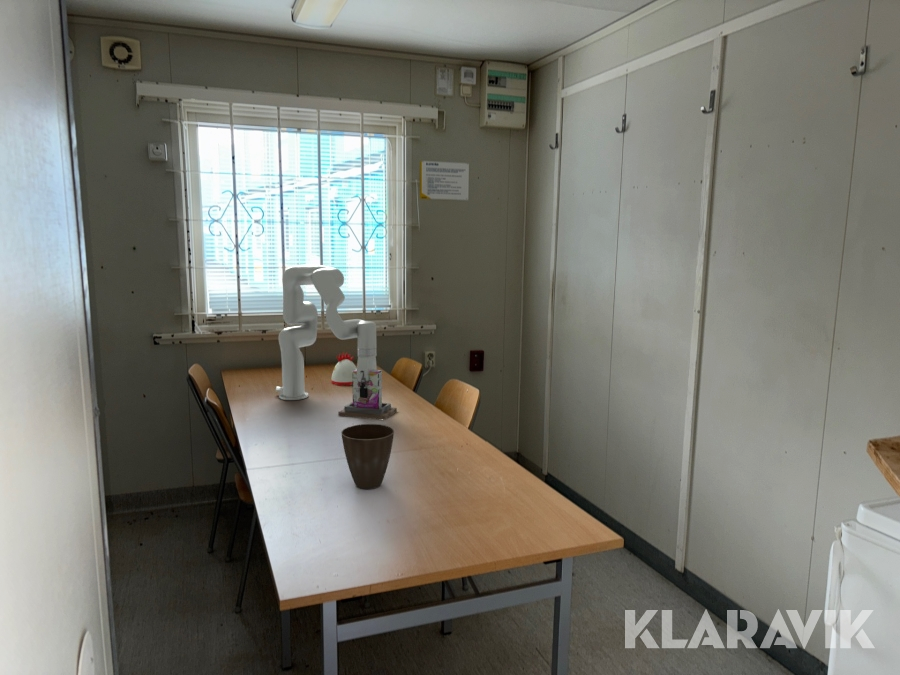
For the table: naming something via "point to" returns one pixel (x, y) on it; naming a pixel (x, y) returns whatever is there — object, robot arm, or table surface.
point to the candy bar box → (369, 391)
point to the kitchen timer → (343, 371)
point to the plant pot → (367, 453)
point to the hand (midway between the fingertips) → (367, 395)
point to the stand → (368, 411)
